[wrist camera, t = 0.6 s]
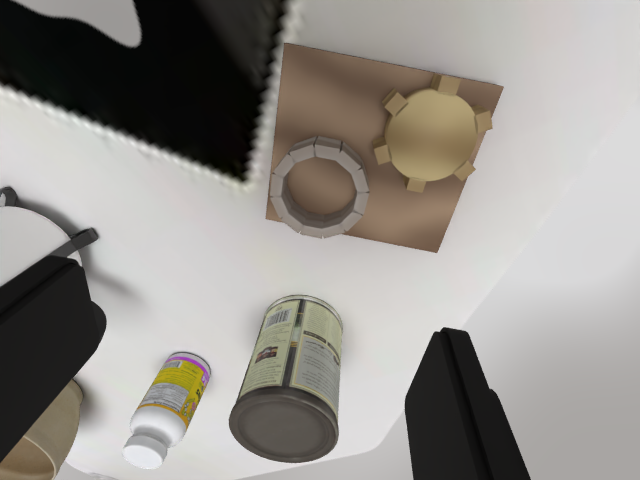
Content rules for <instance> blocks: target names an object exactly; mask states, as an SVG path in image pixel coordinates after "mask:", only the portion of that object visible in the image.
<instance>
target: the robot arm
mask: <svg viewBox="0 0 640 480" xmlns="http://www.w3.org/2000/svg"><path fill="white" fill-rule="evenodd" d="M99 341H100V338H99V333H98V329H97V324H96V320H95V316H94V311H93V307H92V302H91V298H90V294H89V289H88V285H87V281H86V276H85V272H84V269H83V267H82V266H80V265H79V263H78V261H77V260H75V259H72V258H66V257H61V256H55V255H49V256H47V257H45V258H43V259H42V260H40V261H39V262H37V263H36V264H34V265H33V266H31V267H30V268H28V269H27V270H26V271H24V272H23V273H21V274H20V275H18V276H17V277H15V278H14V279H12V280H11V281H10V282H8V283H7V284H5V285H4V286H2V287H1V288H0V463H1V462H2V461H3V459H4V458H5V457H6V456H7V455H8V454H9V452H10V451H11V450H12V449H13V448H14V447H15V445H16V444H17V443H18V442H19V441H20V439H21V438H22V437H23V436H24V435H25V434H26V432H27V431H28V430H29V429H30V428H31V427H32V425H33V424H34V423H35V422H36V421H37V419H38V418H39V417H40V416H41V415H42V414H43V412H44V411H45V410H46V409H47V408H48V407H49V405H50V404H51V403H52V402H53V401H54V400H55V398H56V397H57V396H58V395H59V394H60V392H61V391H62V390H63V389H64V388H65V387H66V385H67V384H68V383H69V382H70V381H71V380H72V378H73V377H74V376H75V375H76V374H77V372H78V371H79V370H80V369H81V368H82V367H83V365H84V364H85V363H86V362H87V361H88V360H89V358H90V357H91V356H92V355H93V354H94V352H95V351H96V350H97V348H98V345H99ZM405 415H406V423H407V431H408V439H409V447H410V455H411V463H412V471H413V478H414V480H531V479H530V476H529V474H528V471H527V468H526V466H525V463H524V461H523V459H522V456H521V453H520V451H519V448H518V445H517V443H516V440H515V438H514V435H513V433H512V430H511V428H510V425H509V423H508V420H507V418H506V415H505V412H504V410H503V407H502V405H501V402H500V400H499V398H498V396H497V394H496V393H495V392H494V391H493V390H492V389H489V387H488V384H487V381H486V379H485V376H484V373H483V371H482V368H481V365H480V363H479V360H478V357H477V355H476V352H475V349H474V347H473V344H472V342H471V339H470V336H469V334H468V333H467V332H466V331H462V330H457V329H451V328H446V327H443V328H442V329H441V331H440V332H434V333H433V335H432V338H431V340H430V342H429V344H428V347H427V349H426V351H425V354H424V356H423V358H422V360H421V363H420V365H419V367H418V370H417V372H416V374H415V376H414V379H413V381H412V383H411V386H410V388H409V390H408V393H407V395H406V399H405Z"/></svg>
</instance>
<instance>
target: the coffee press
mask: <svg viewBox="0 0 640 480" xmlns="http://www.w3.org/2000/svg"><path fill="white" fill-rule="evenodd" d="M2 192H3V193H4V194H5V196H6V203H5V206H4V207H0V288H1V287H2V286H4V285H5V284H7V283H8V282H10V281H11V280H12V279H14V278H15V277H17V276H18V275H20V274H21V273H23V272H24V271H26V270H27V269H28V268H30V267H31V266H33V265H34V264H36V263H37V262H39V261H40V260H42V259H43V258H45V257H47V256H49V255H55V256H61V257H66V258H72V259H75V260H77V261H78V263H79V265H80V266H82V262H81V258H80V255H79V252H78V250H79V249H80V248H82V247H84V246H86V245H88V244H91V243H93V242H94V241H96V240H97V239H98V238H97V236H96V235H95V233H94V231H93V230H92V228H89V229H86V230H83V231H81V232H79V233H76V234H74V235H71V236H68V235H67V234H66V233H65V232H64V231H63V230H62V229H61V228H60V227H59V226H57V225H56V224H55V223H54V222H52V221H51V220H49V219H47V218H46V217H44V216H42V215H40V214H38V213H36V212H33V211H30V210H27V209H24V208H19V207H15V203H16V192H15V191H14V190H13V189H11V188H9V187H5V188H1V189H0V197H1V194H2ZM91 302H92V307H93V311H94V316H95V320H96V324H97V329H98V333H99V338H100V341H99V343H100V342H101V340H102V338H103V335H104V332H105V329H106V316H105V314H104V312H103V310H102V309H101V308H100V307H99V306H98V305H97V304H96V303H94V302H93V301H91Z"/></svg>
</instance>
